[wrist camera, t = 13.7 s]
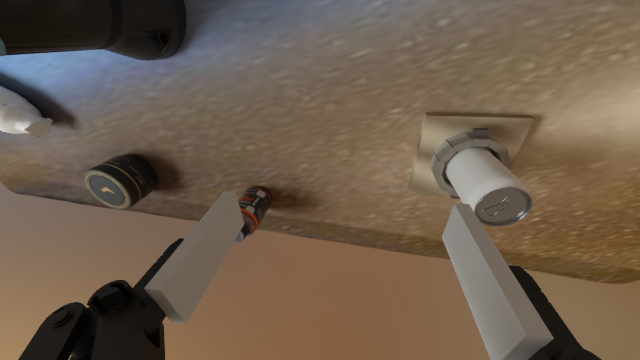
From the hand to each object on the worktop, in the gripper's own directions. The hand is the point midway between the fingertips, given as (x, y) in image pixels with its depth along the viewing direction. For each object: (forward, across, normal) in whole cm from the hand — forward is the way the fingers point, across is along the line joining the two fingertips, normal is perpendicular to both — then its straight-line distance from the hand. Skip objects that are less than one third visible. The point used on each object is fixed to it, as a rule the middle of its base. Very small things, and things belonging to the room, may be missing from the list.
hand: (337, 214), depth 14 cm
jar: (+27, +47, +15) cm, 56 cm away
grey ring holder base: (+25, -18, +9) cm, 32 cm away
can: (+24, -18, +9) cm, 31 cm away
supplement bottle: (+26, +19, +20) cm, 38 cm away
